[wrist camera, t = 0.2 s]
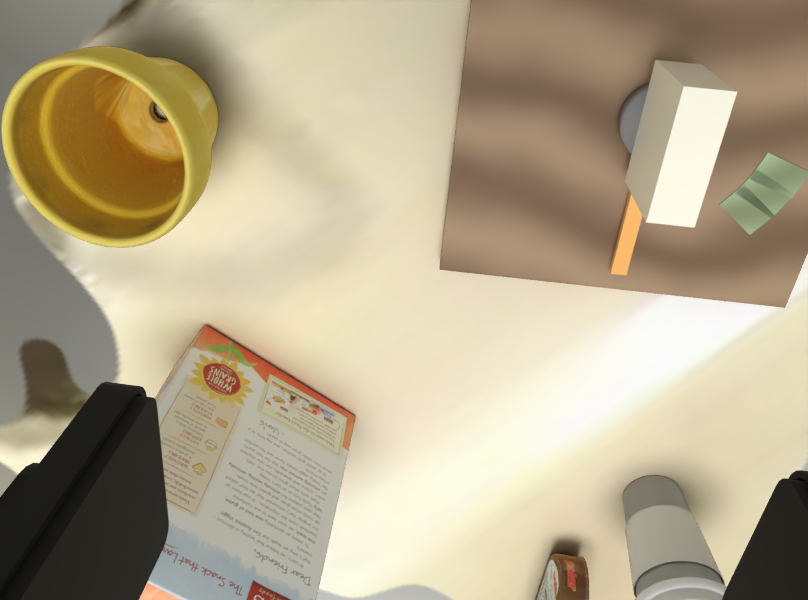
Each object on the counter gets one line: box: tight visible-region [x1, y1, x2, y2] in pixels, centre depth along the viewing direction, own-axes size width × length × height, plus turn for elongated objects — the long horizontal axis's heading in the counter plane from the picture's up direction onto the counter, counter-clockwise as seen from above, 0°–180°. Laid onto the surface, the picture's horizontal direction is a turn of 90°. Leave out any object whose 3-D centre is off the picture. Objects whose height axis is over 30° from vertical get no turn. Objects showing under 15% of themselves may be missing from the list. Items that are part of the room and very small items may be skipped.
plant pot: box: [1, 46, 218, 248], centre depth 41 cm, size 10×10×10 cm
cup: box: [623, 475, 727, 600], centre depth 53 cm, size 7×7×12 cm
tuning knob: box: [610, 60, 737, 275], centre depth 40 cm, size 14×4×7 cm, turn 175°
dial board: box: [440, 0, 808, 308], centre depth 42 cm, size 23×23×2 cm
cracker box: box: [139, 325, 355, 600], centre depth 47 cm, size 14×6×21 cm, turn 53°
